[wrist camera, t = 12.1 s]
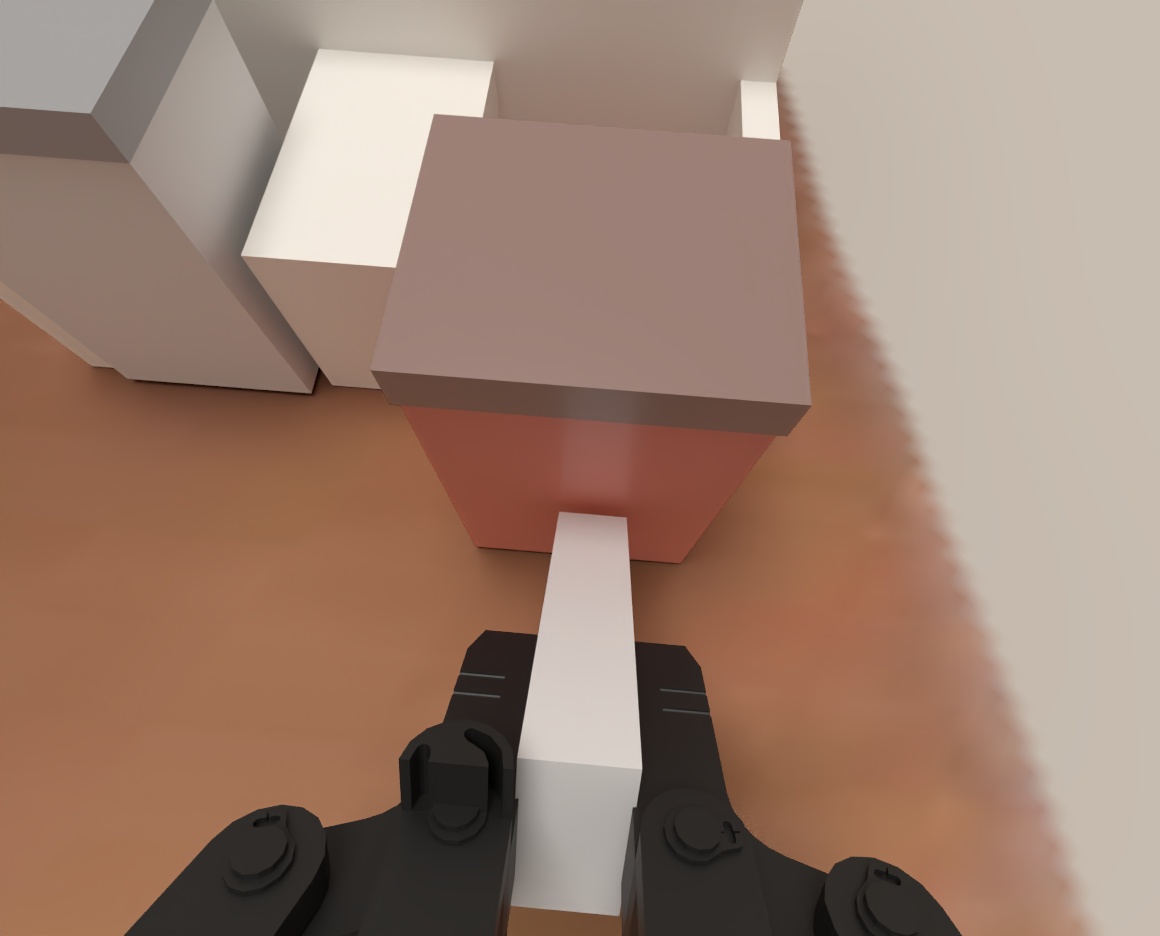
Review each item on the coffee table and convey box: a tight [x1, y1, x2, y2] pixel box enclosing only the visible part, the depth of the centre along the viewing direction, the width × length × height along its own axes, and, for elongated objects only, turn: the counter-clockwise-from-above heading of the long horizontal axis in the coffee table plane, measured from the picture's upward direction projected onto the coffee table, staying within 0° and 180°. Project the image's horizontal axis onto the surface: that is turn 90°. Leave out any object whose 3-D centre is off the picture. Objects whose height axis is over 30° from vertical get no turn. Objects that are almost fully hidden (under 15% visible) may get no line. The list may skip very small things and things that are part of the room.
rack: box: [0, 0, 803, 389], centre depth 17 cm, size 21×10×10 cm, turn 86°
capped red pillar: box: [370, 114, 812, 563], centre depth 14 cm, size 6×5×10 cm
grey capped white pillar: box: [0, 0, 319, 393], centre depth 16 cm, size 6×5×10 cm
